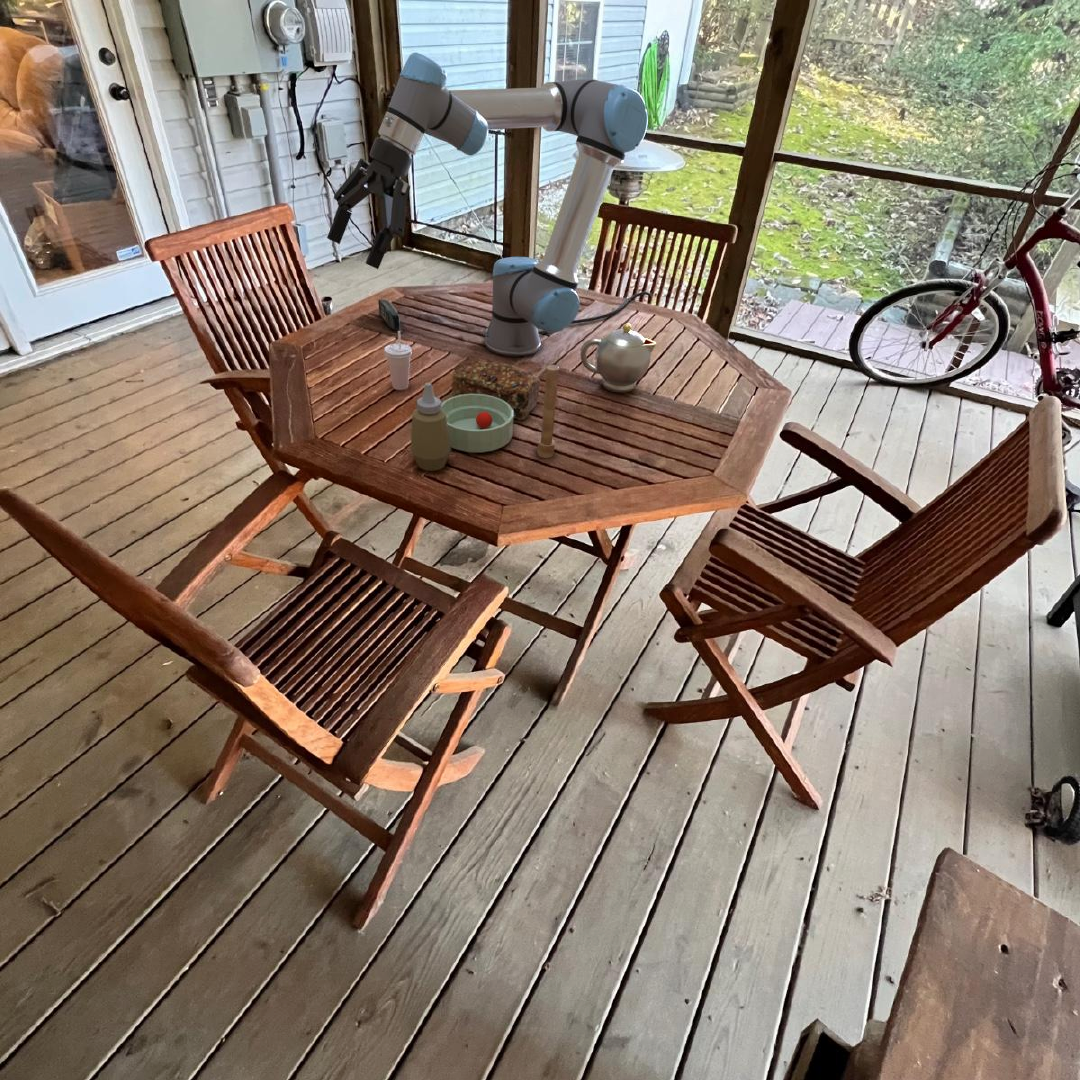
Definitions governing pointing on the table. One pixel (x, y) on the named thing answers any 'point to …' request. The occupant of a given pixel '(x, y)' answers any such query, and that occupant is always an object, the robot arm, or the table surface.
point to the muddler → (548, 413)
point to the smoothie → (398, 363)
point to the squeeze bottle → (430, 432)
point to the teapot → (620, 358)
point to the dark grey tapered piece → (389, 314)
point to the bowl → (466, 429)
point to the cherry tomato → (484, 420)
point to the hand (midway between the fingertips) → (351, 253)
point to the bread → (497, 384)
